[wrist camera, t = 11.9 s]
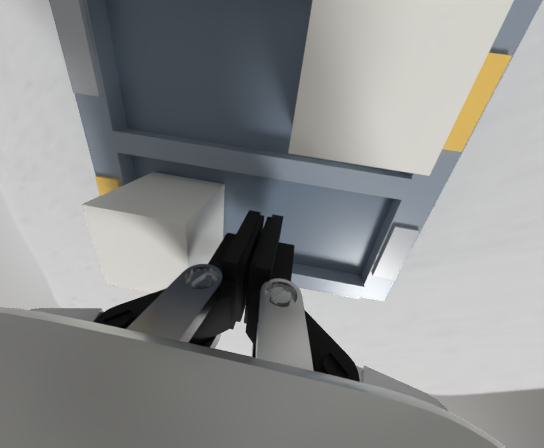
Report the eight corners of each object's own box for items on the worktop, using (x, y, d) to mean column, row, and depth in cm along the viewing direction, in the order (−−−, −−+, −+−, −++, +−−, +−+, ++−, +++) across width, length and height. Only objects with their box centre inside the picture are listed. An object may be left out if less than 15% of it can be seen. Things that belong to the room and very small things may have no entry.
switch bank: (645, -339, 6) (947, -729, 3) (371, 271, 16) (385, 306, 13) (43, -364, 7) (-138, -688, 4) (144, 229, 17) (113, 254, 14)
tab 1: (224, 184, 12) (185, 223, 8) (222, 245, 14) (190, 300, 10) (153, 172, 12) (81, 204, 8) (161, 233, 14) (106, 284, 10)
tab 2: (421, 35, 8) (525, -25, 4) (381, 147, 10) (429, 175, 6) (313, 21, 8) (320, -48, 5) (294, 134, 10) (287, 153, 7)
